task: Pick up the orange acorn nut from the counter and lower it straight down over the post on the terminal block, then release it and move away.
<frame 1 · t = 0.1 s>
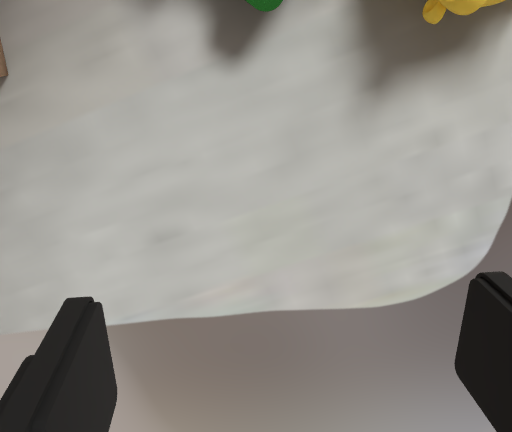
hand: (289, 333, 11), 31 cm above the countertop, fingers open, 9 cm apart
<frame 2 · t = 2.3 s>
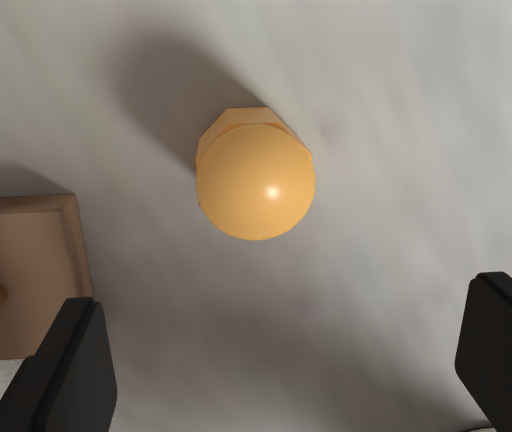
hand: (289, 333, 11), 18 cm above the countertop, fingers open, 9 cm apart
post block: (11, 268, 30), on the countertop
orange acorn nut: (248, 156, 28), on the countertop
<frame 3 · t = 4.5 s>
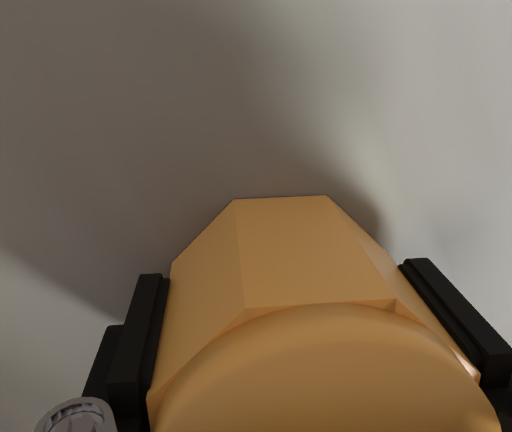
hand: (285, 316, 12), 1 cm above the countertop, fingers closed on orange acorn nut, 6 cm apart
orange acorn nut: (280, 294, 13), on the countertop, touching gripper
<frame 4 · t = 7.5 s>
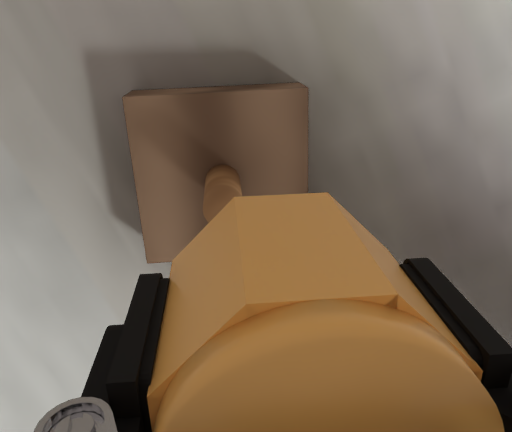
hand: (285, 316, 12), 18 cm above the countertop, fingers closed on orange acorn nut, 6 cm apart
post block: (222, 166, 29), on the countertop
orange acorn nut: (281, 291, 13), point 17 cm above the countertop, touching gripper
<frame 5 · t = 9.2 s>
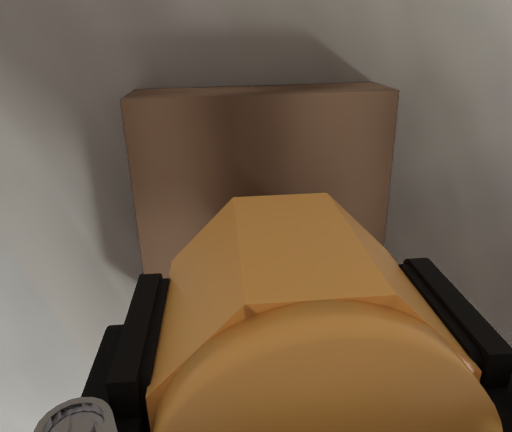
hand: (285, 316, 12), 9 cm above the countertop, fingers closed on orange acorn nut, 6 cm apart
post block: (258, 197, 21), on the countertop
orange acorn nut: (280, 292, 13), point 8 cm above the countertop, touching gripper
when the fingers open (5 cm above the countertop, at t = 10.5 s): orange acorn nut stays where it is, resting on post block.
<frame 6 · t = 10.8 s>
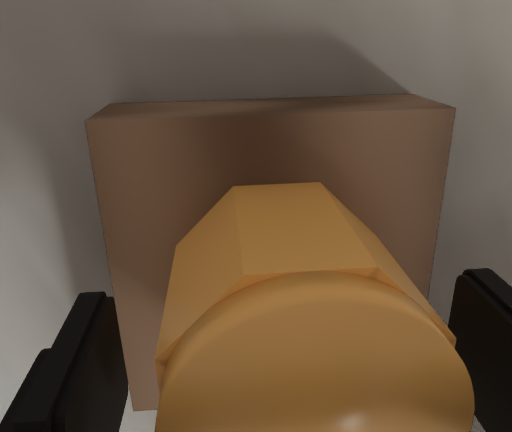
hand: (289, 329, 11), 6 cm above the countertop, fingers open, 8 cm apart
post block: (266, 236, 17), on the countertop
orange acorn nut: (277, 275, 14), point 3 cm above the countertop, touching post block
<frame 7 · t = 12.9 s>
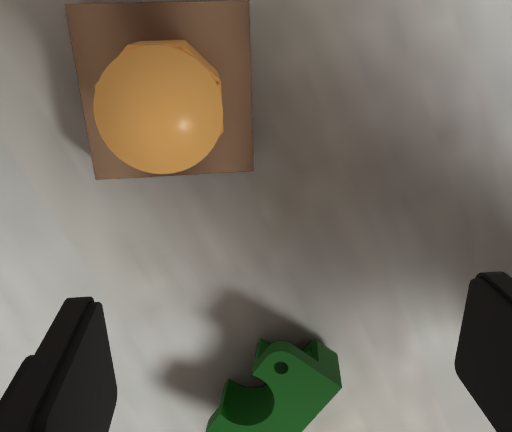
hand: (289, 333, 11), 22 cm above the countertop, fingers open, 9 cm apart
post block: (171, 88, 29), on the countertop
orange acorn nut: (168, 94, 27), point 3 cm above the countertop, touching post block
clamp: (265, 369, 40), on the countertop
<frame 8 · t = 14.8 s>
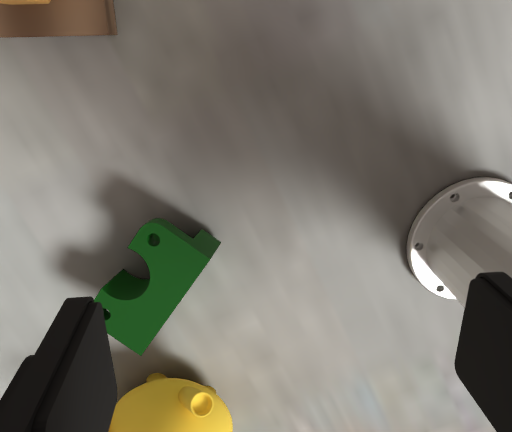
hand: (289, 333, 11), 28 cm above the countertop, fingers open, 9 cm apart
clamp: (159, 261, 42), on the countertop
teapot: (184, 400, 49), on the countertop
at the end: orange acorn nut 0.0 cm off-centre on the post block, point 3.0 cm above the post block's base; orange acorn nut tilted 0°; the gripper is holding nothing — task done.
